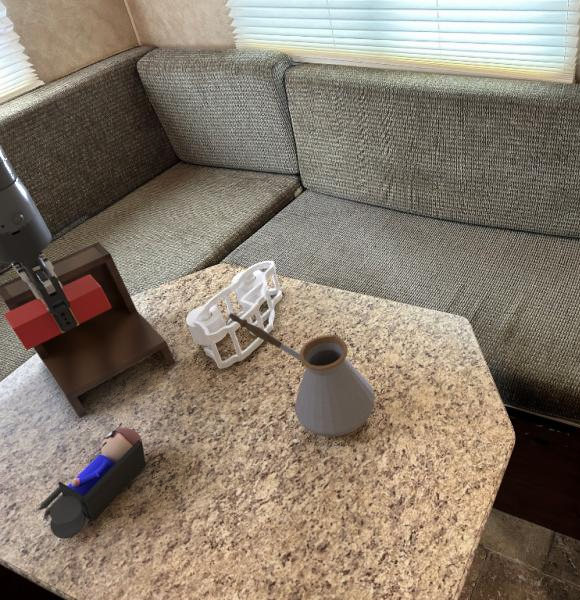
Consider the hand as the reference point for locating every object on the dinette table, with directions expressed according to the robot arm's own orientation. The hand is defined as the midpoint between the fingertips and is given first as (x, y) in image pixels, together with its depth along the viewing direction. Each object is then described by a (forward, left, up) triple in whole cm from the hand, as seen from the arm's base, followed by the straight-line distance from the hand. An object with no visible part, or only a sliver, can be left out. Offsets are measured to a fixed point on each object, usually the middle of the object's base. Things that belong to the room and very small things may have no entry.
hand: (63, 319), depth 86 cm
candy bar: (0, 0, -1) cm, 1 cm away
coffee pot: (+21, -27, -15) cm, 37 cm away
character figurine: (-7, -20, -15) cm, 26 cm away
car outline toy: (+24, -4, -15) cm, 29 cm away
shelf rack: (+3, +5, -15) cm, 16 cm away
